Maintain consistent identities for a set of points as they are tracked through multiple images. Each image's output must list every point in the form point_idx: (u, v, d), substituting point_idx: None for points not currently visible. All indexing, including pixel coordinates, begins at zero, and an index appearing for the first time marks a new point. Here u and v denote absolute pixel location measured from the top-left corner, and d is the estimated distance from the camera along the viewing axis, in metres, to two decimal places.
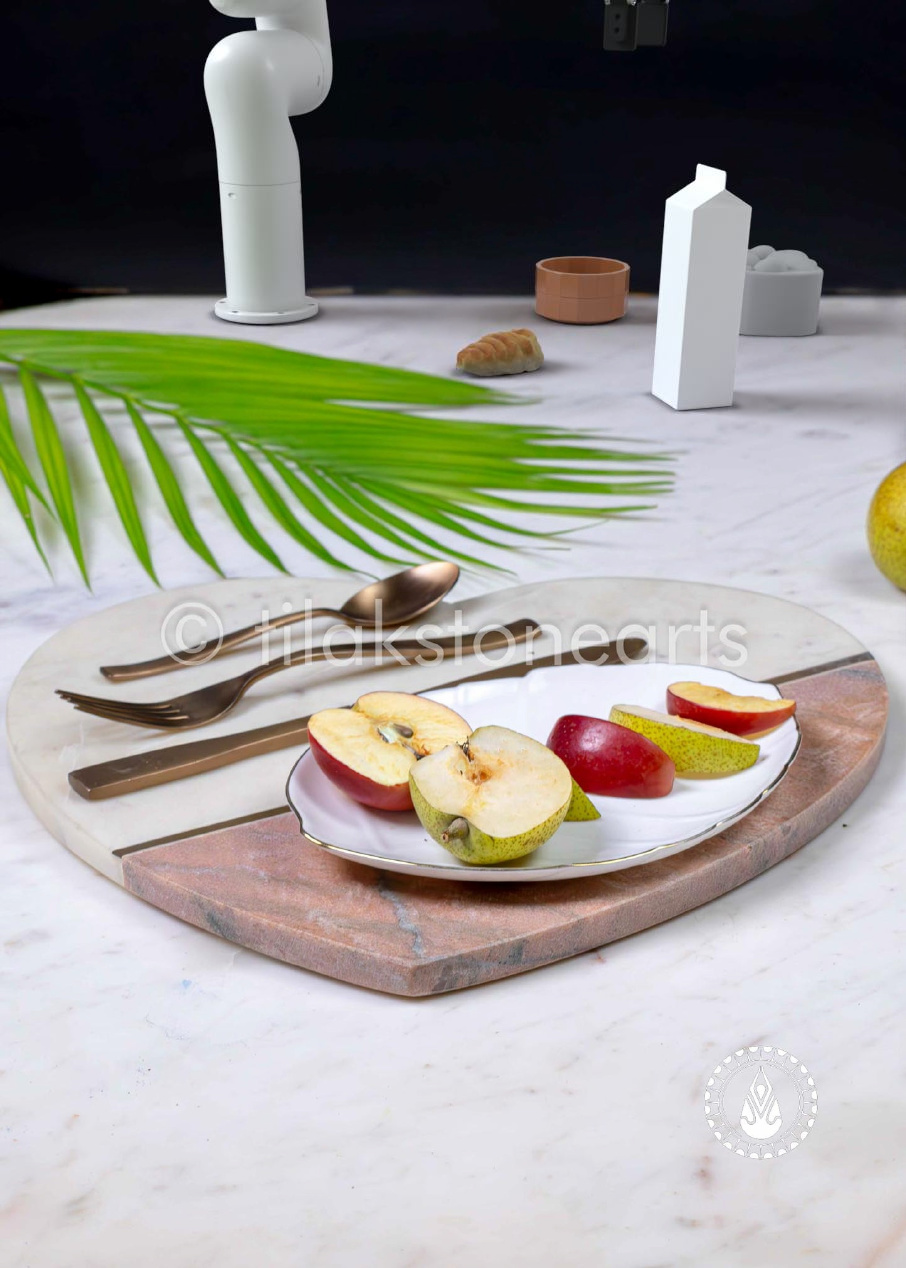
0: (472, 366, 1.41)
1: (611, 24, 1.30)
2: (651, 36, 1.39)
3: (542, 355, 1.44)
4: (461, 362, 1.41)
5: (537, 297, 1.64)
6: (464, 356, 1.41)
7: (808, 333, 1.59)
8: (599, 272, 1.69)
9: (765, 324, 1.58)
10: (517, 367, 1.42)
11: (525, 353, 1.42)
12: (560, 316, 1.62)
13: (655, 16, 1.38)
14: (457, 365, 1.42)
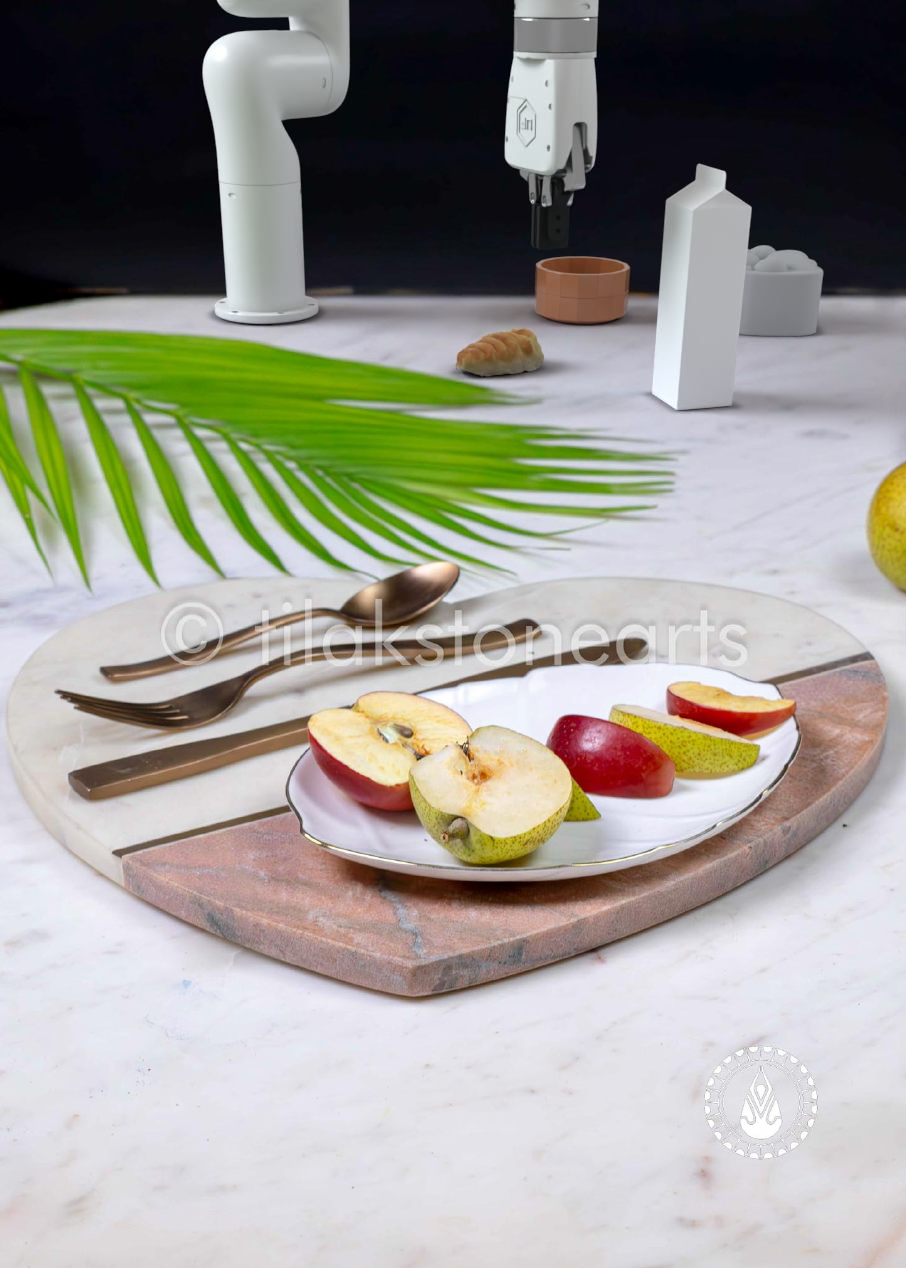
0: (472, 366, 1.41)
1: (552, 225, 1.28)
2: None
3: (542, 355, 1.44)
4: (461, 362, 1.41)
5: (537, 297, 1.64)
6: (464, 356, 1.41)
7: (808, 333, 1.59)
8: (599, 272, 1.69)
9: (765, 323, 1.58)
10: (517, 367, 1.42)
11: (525, 353, 1.42)
12: (560, 316, 1.62)
13: None
14: (457, 365, 1.42)
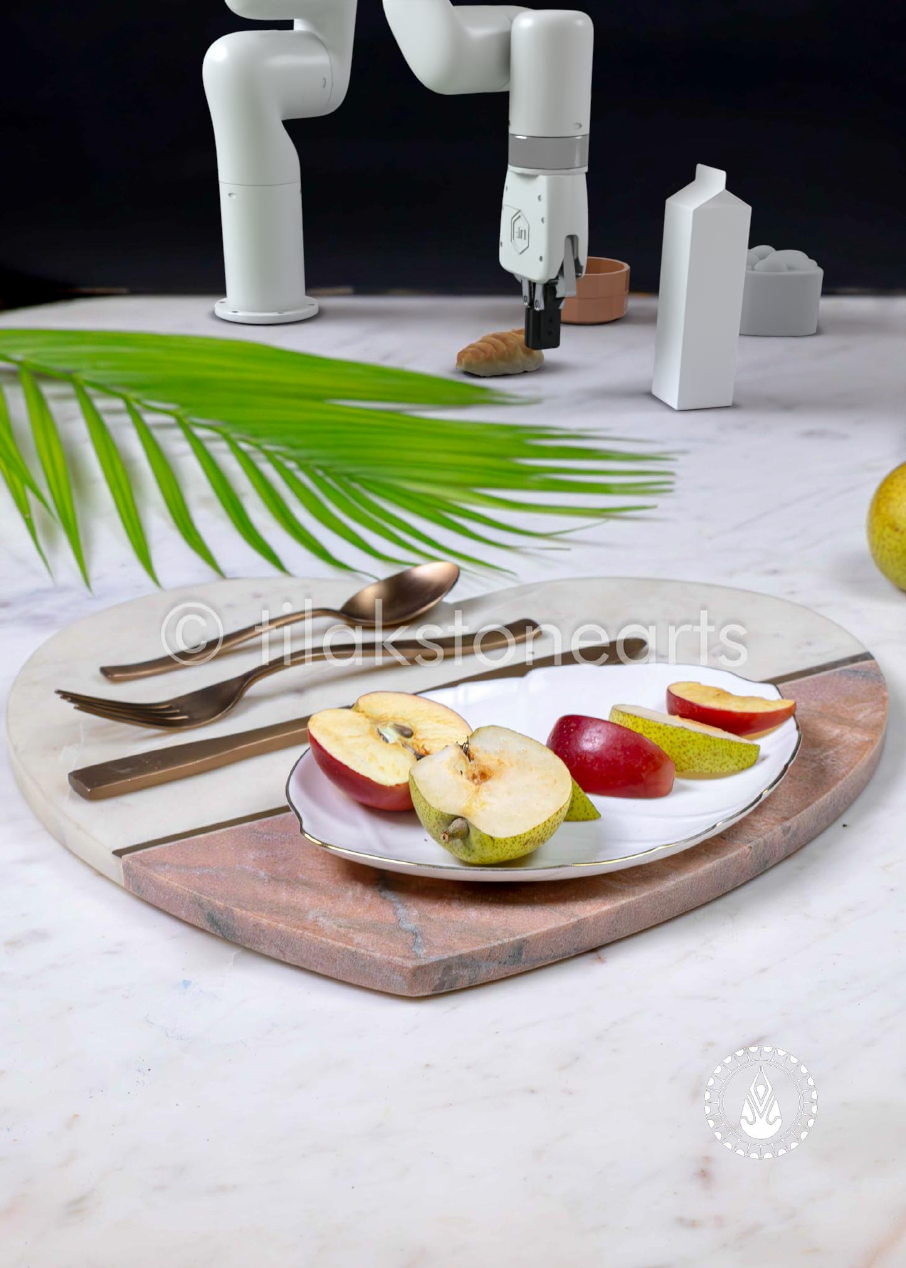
0: (472, 366, 1.41)
1: (544, 328, 1.33)
2: None
3: (542, 355, 1.44)
4: (461, 362, 1.41)
5: None
6: (464, 356, 1.41)
7: (808, 333, 1.59)
8: (599, 272, 1.69)
9: (765, 323, 1.58)
10: (517, 367, 1.42)
11: (525, 353, 1.42)
12: None
13: None
14: (457, 365, 1.42)
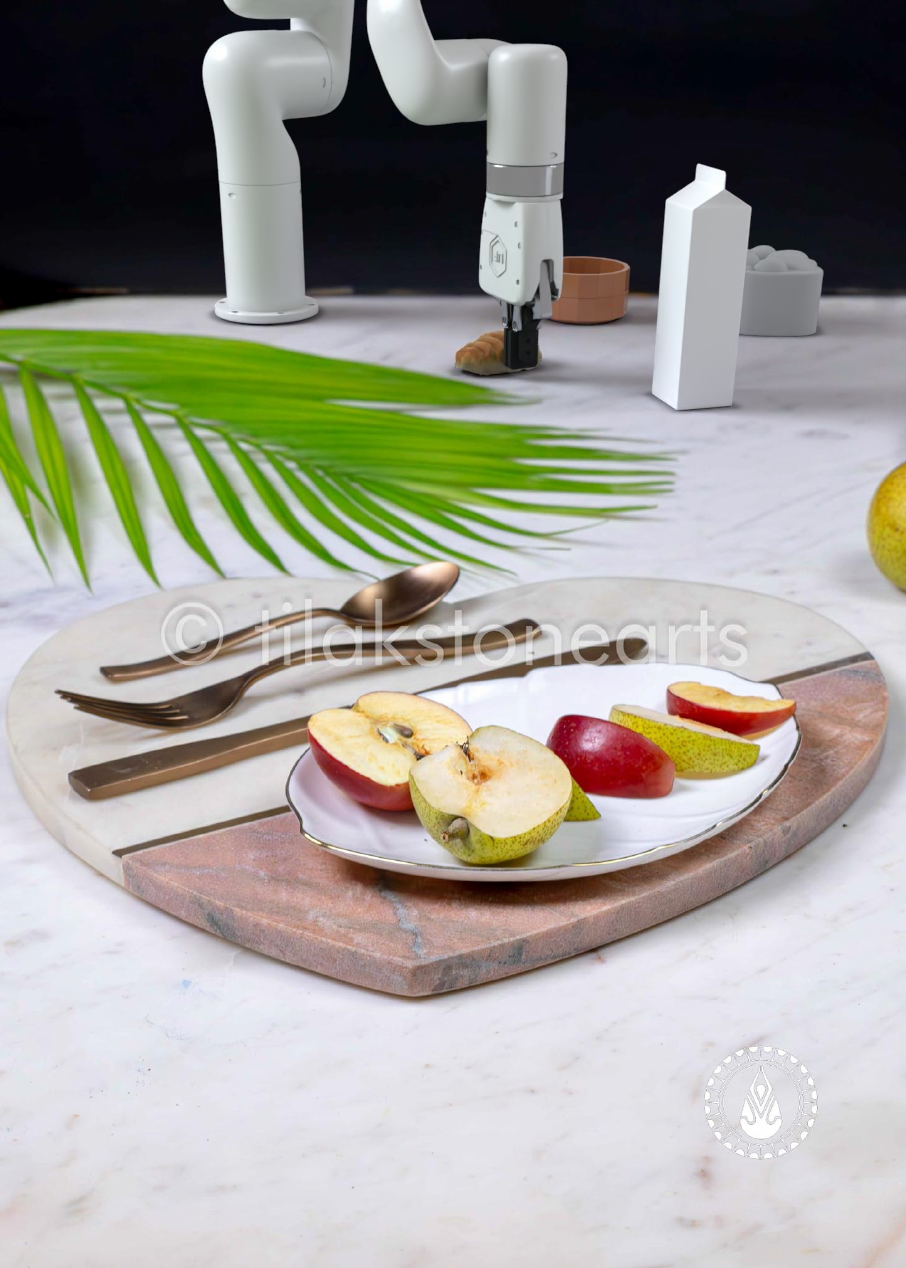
0: (471, 365, 1.41)
1: (522, 348, 1.38)
2: None
3: (540, 354, 1.44)
4: (460, 361, 1.42)
5: None
6: (463, 355, 1.42)
7: (808, 333, 1.59)
8: (599, 272, 1.69)
9: (765, 323, 1.58)
10: None
11: None
12: (560, 316, 1.62)
13: None
14: (456, 364, 1.42)
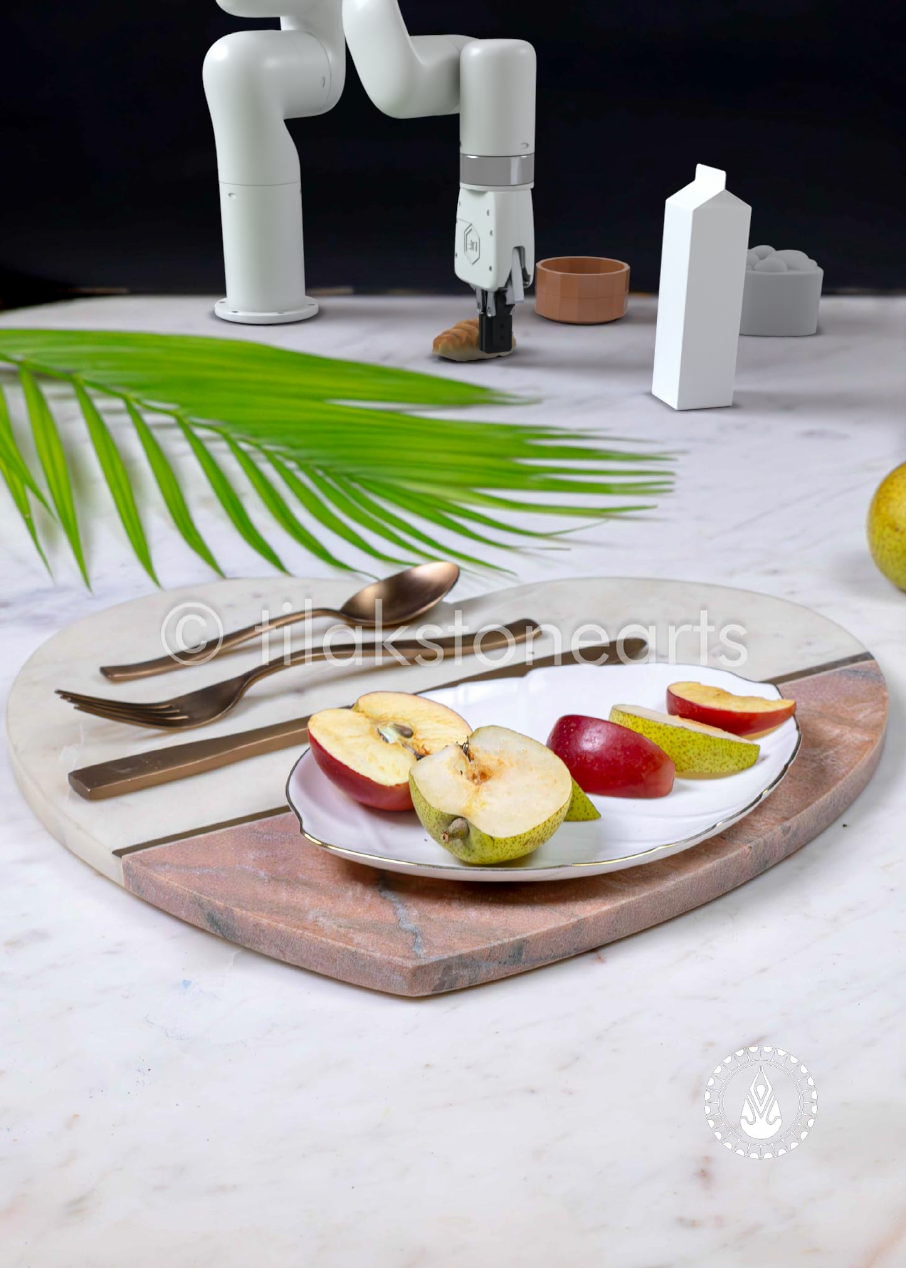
0: (448, 352, 1.46)
1: (496, 333, 1.43)
2: None
3: (514, 340, 1.49)
4: (437, 348, 1.46)
5: (537, 297, 1.64)
6: (440, 342, 1.46)
7: (808, 333, 1.59)
8: (599, 272, 1.69)
9: (765, 323, 1.58)
10: None
11: None
12: (560, 316, 1.62)
13: None
14: (433, 351, 1.47)
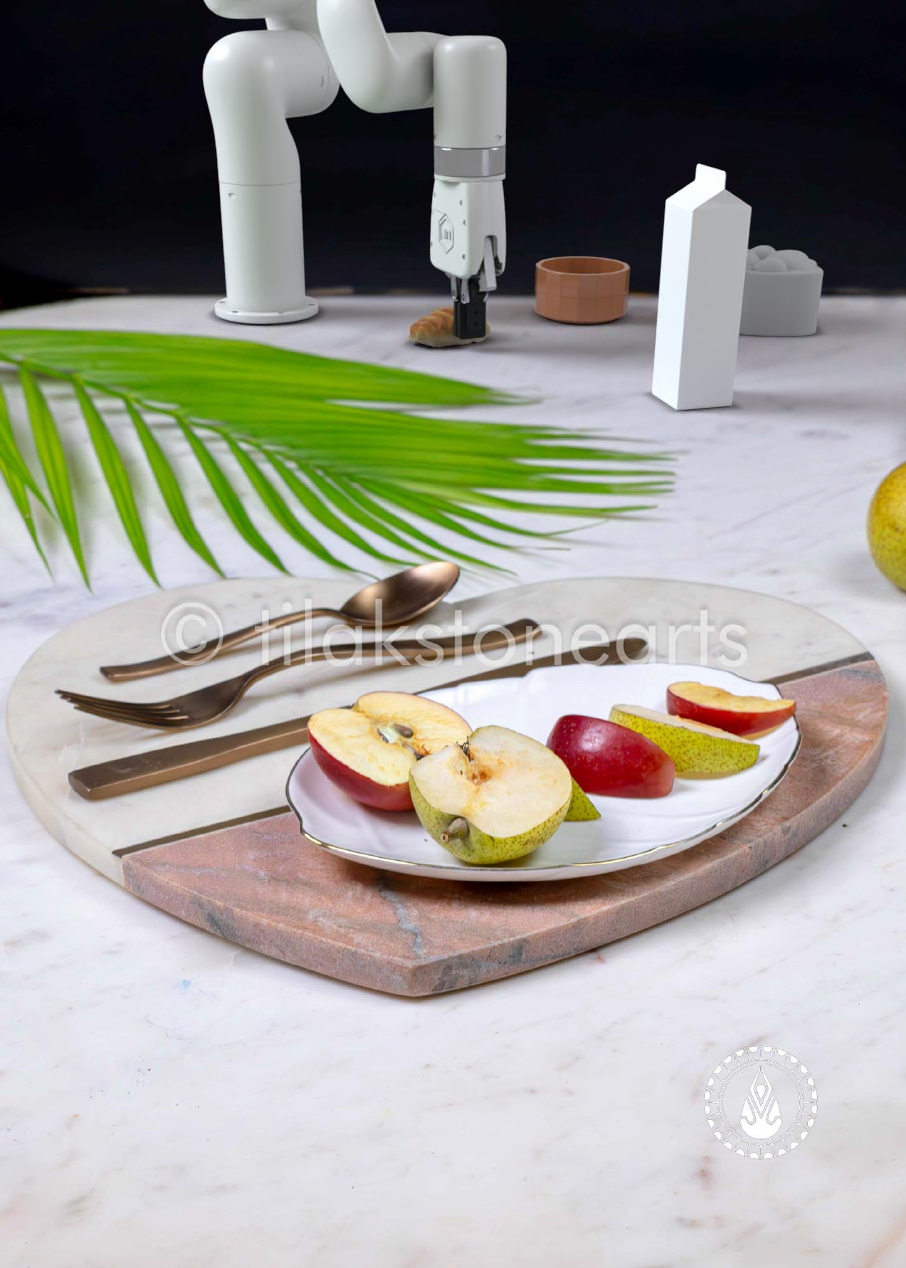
0: (425, 338, 1.51)
1: (470, 319, 1.49)
2: None
3: (488, 327, 1.55)
4: (414, 335, 1.52)
5: (537, 297, 1.64)
6: (417, 329, 1.52)
7: (808, 333, 1.59)
8: (599, 272, 1.69)
9: (765, 323, 1.58)
10: None
11: None
12: (560, 316, 1.62)
13: None
14: (410, 337, 1.52)
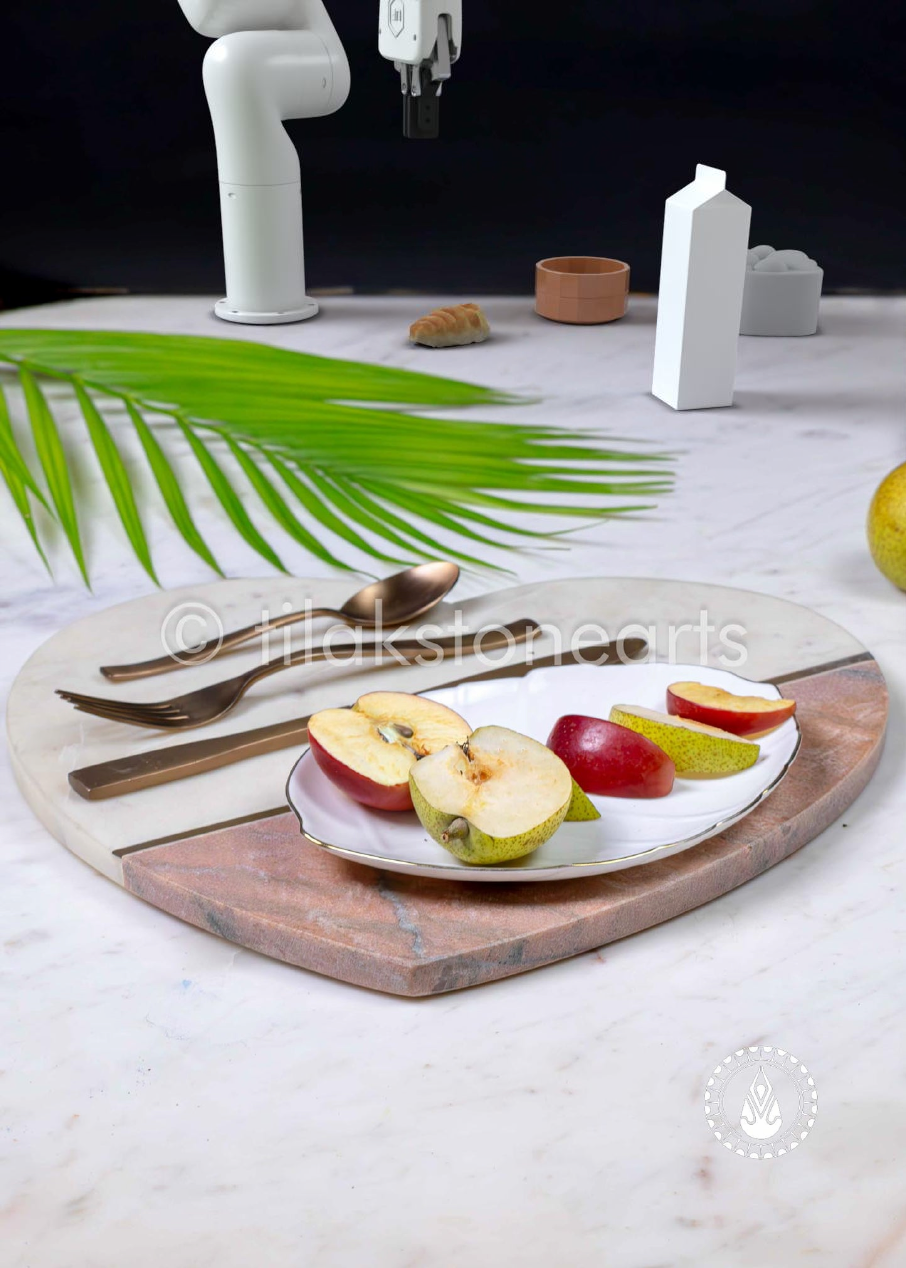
0: (424, 338, 1.51)
1: (421, 115, 1.35)
2: None
3: (488, 327, 1.55)
4: (414, 334, 1.52)
5: (537, 297, 1.64)
6: (417, 328, 1.52)
7: (808, 333, 1.59)
8: (599, 272, 1.69)
9: (765, 323, 1.58)
10: (466, 338, 1.53)
11: (473, 325, 1.53)
12: (560, 316, 1.62)
13: None
14: (410, 337, 1.52)
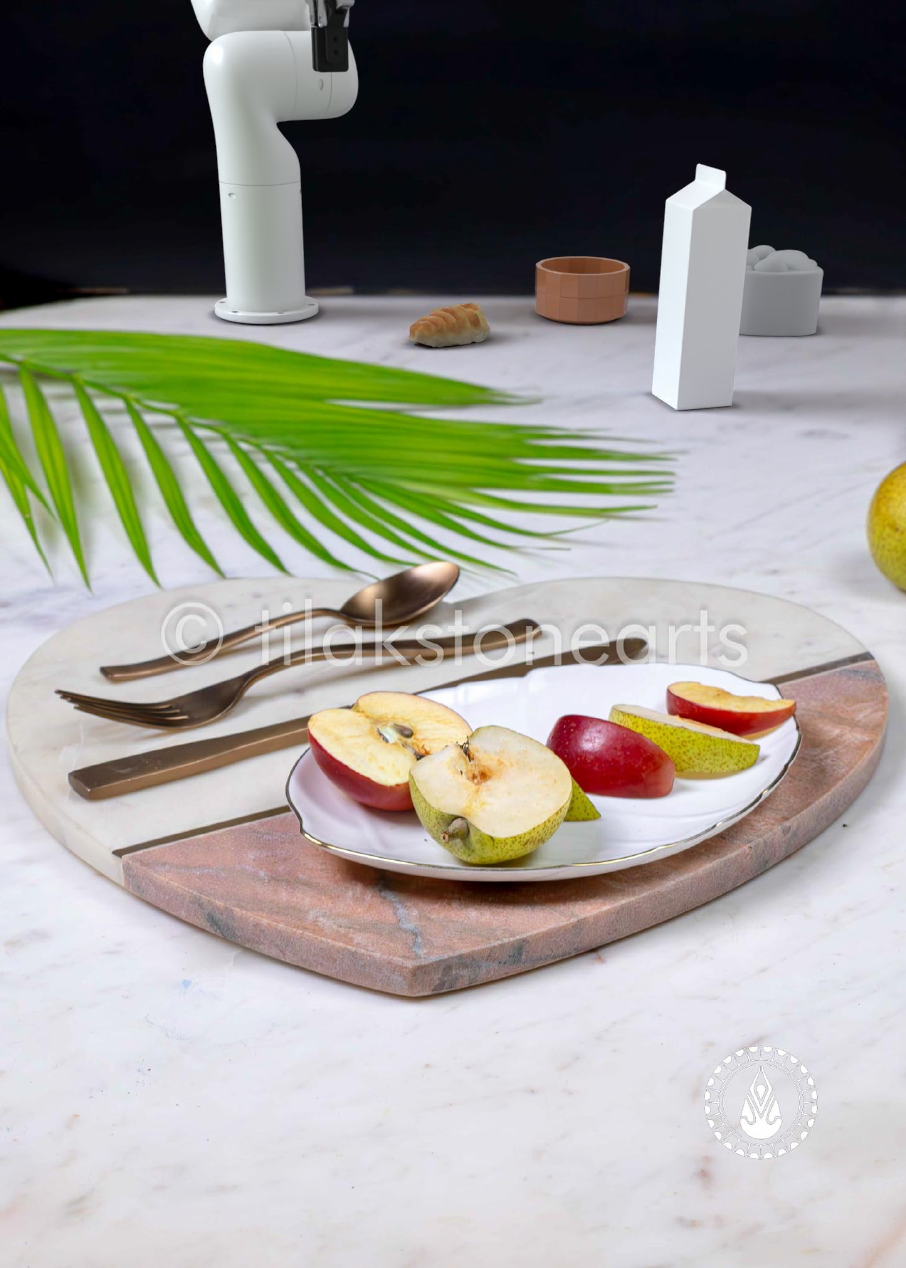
0: (424, 338, 1.51)
1: (329, 46, 1.31)
2: None
3: (488, 327, 1.55)
4: (414, 334, 1.52)
5: (537, 297, 1.64)
6: (417, 328, 1.52)
7: (808, 333, 1.59)
8: (599, 272, 1.69)
9: (765, 323, 1.58)
10: (466, 338, 1.53)
11: (473, 325, 1.53)
12: (560, 316, 1.62)
13: None
14: (410, 337, 1.52)
